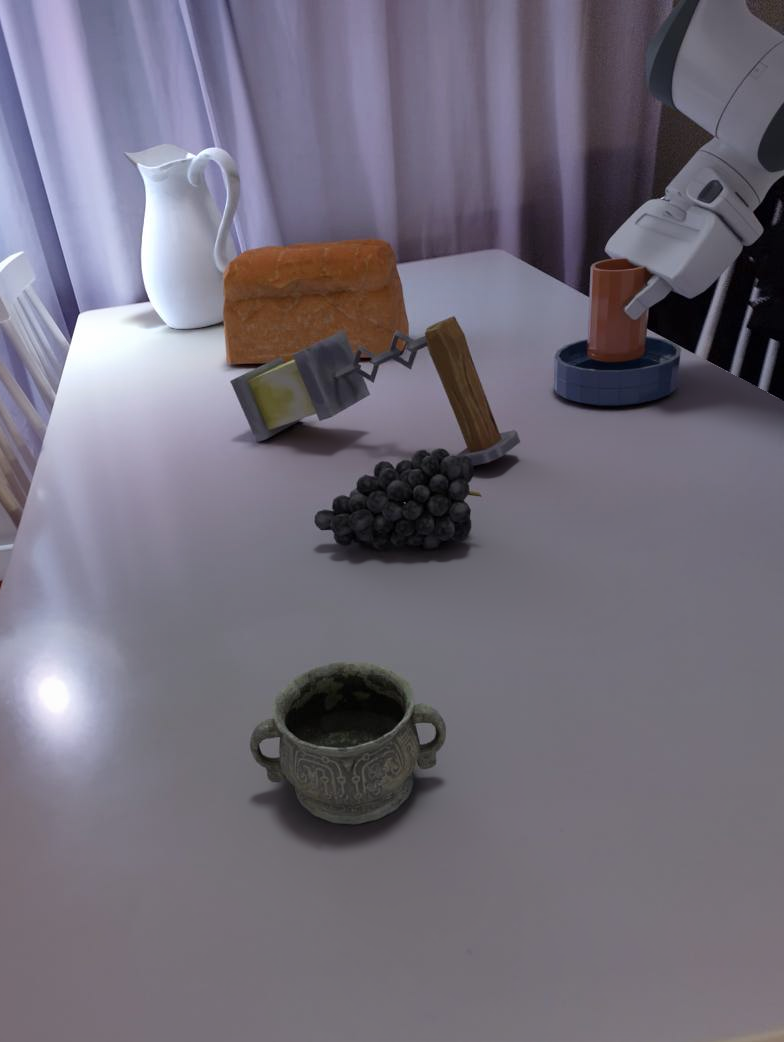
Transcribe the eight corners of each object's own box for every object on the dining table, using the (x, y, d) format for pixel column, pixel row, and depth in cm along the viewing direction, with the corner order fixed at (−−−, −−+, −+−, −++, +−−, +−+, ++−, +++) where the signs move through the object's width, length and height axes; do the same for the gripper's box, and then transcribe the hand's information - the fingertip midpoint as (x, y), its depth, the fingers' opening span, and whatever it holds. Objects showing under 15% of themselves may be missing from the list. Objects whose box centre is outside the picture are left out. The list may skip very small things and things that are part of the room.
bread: (246, 343, 151) (231, 243, 143) (412, 333, 144) (406, 227, 136) (221, 370, 140) (203, 263, 132) (400, 360, 133) (393, 247, 125)
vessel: (439, 729, 62) (435, 651, 59) (458, 822, 55) (454, 738, 52) (260, 747, 63) (246, 670, 60) (255, 841, 56) (238, 759, 52)
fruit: (301, 463, 80) (480, 446, 78) (314, 457, 88) (476, 442, 86) (311, 563, 82) (485, 549, 80) (323, 548, 90) (482, 536, 88)
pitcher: (133, 328, 169) (97, 155, 154) (207, 304, 177) (180, 139, 163) (214, 344, 153) (182, 153, 138) (291, 317, 162) (269, 135, 147)
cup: (636, 343, 113) (643, 255, 107) (651, 358, 107) (658, 266, 102) (582, 349, 113) (586, 261, 108) (593, 364, 108) (598, 273, 103)
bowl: (659, 366, 118) (662, 330, 116) (692, 403, 106) (696, 363, 104) (545, 378, 119) (546, 342, 117) (565, 415, 108) (566, 376, 105)
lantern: (287, 513, 115) (493, 462, 94) (230, 380, 110) (433, 295, 89) (324, 488, 120) (528, 435, 98) (271, 361, 115) (473, 275, 93)
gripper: (648, 173, 110) (564, 272, 115) (735, 193, 93) (631, 309, 98) (681, 209, 113) (597, 305, 117) (772, 235, 95) (669, 346, 100)
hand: (613, 307), depth 107 cm, fingers closed on cup, 6 cm apart
